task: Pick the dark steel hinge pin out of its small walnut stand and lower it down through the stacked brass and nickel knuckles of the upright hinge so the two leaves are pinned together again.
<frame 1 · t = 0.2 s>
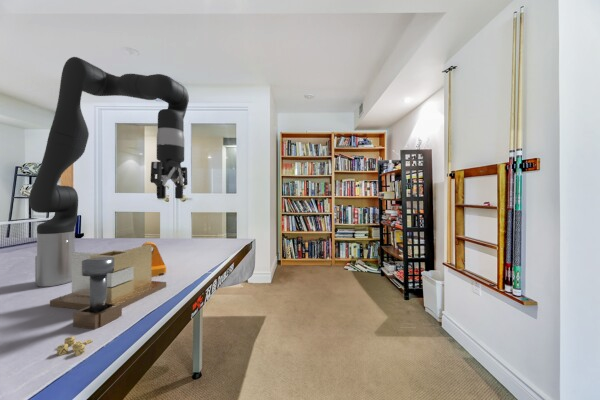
hand: (170, 198, 76), 29 cm above the table, tool pointing down, fingers open, 8 cm apart
bracket: (149, 275, 94), on the table
hinge pin: (98, 320, 59), resting in hinge base
hinge leaf: (97, 274, 69), point 8 cm above the table, hinge at 0.0°
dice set: (73, 353, 48), on the table
hinge base: (112, 302, 69), on the table
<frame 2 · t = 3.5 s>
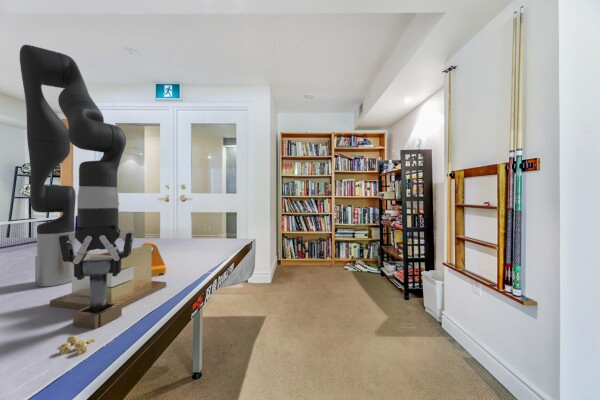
hand: (98, 276, 59), 10 cm above the table, tool pointing down, fingers closed on hinge pin, 6 cm apart
hinge pin: (98, 320, 59), resting in hinge base, touching gripper
everything else where it was.
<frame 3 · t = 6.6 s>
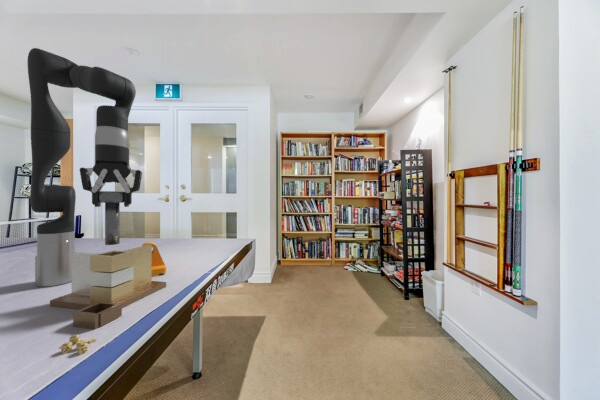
hand: (112, 206, 68), 27 cm above the table, tool pointing down, fingers closed on hinge pin, 6 cm apart
hinge pin: (112, 243, 68), point 16 cm above the table, touching gripper
everything else where it was.
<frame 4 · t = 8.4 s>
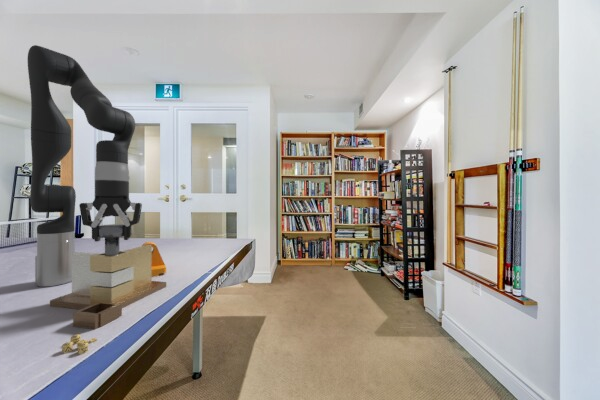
hand: (112, 240, 68), 17 cm above the table, tool pointing down, fingers closed on hinge pin, 6 cm apart
hinge pin: (112, 277, 68), point 7 cm above the table, touching gripper
everything else where it was.
when the fingers open (15 cm above the table, at t = 10.0 s): hinge pin drops 3 cm, resting on hinge base.
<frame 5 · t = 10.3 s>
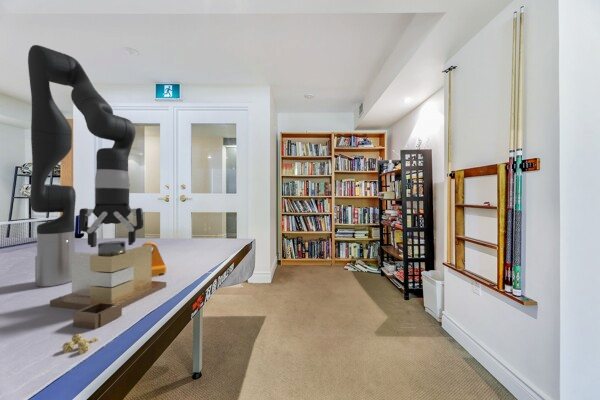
hand: (112, 245, 68), 16 cm above the table, tool pointing down, fingers open, 8 cm apart
hinge pin: (112, 294, 68), point 2 cm above the table, touching hinge base
everything else where it was.
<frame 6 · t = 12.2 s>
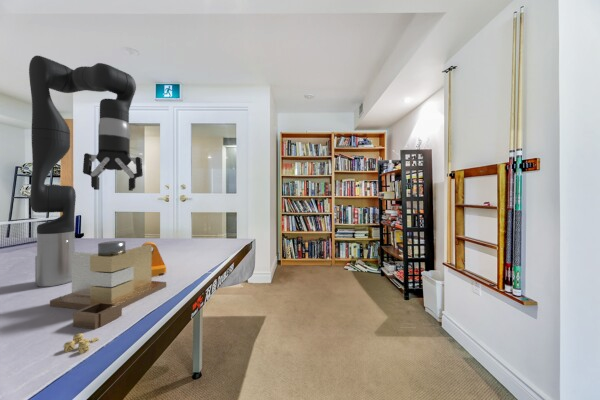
hand: (114, 190, 75), 31 cm above the table, tool pointing down, fingers open, 8 cm apart
nothing on the table moved.
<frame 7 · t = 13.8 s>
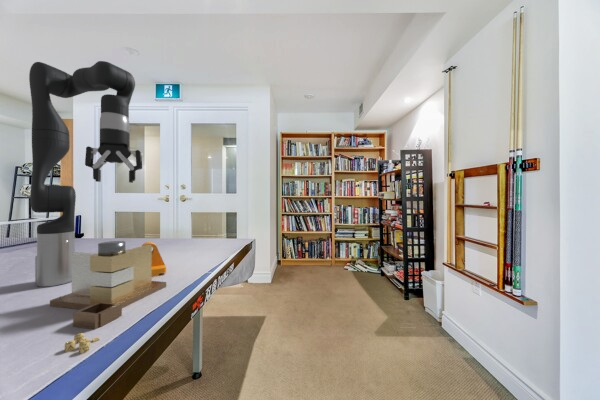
hand: (115, 182, 78), 34 cm above the table, tool pointing down, fingers open, 8 cm apart
at the end: hinge pin 0.1 cm off-centre on the hinge base, point 2.2 cm above the hinge base's base; hinge pin tilted 0°; the gripper is holding nothing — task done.
